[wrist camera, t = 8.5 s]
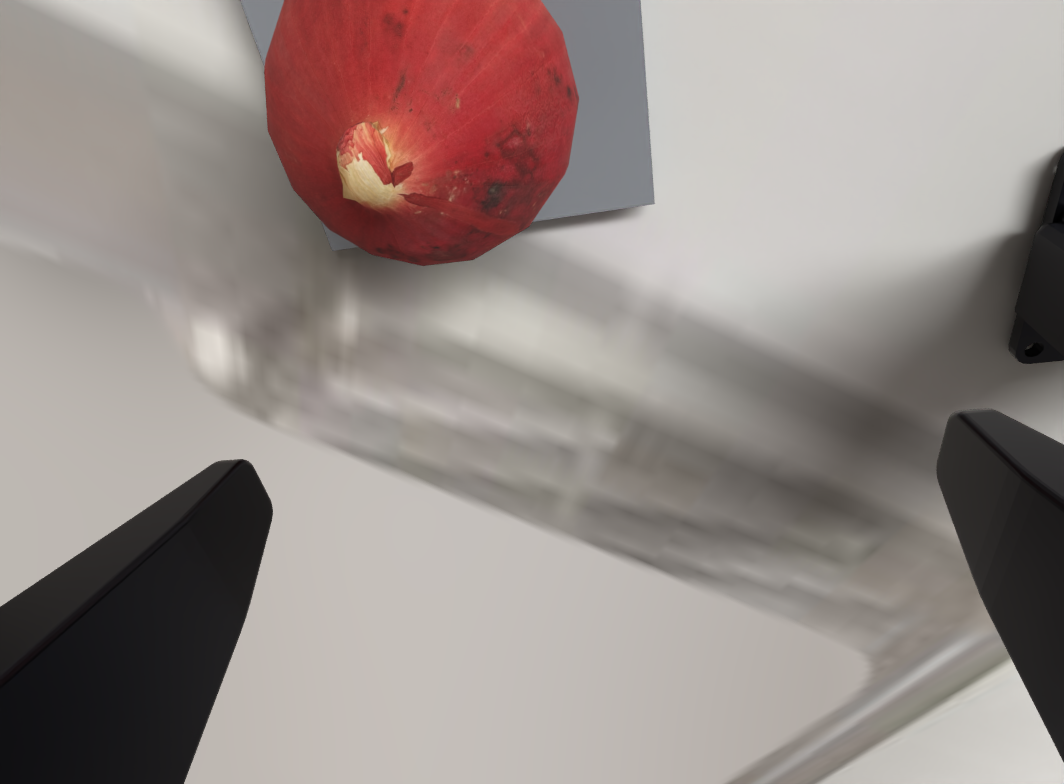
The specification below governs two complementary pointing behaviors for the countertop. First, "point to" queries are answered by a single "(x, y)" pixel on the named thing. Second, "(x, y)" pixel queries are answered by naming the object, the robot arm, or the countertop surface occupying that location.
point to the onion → (421, 119)
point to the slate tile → (603, 111)
